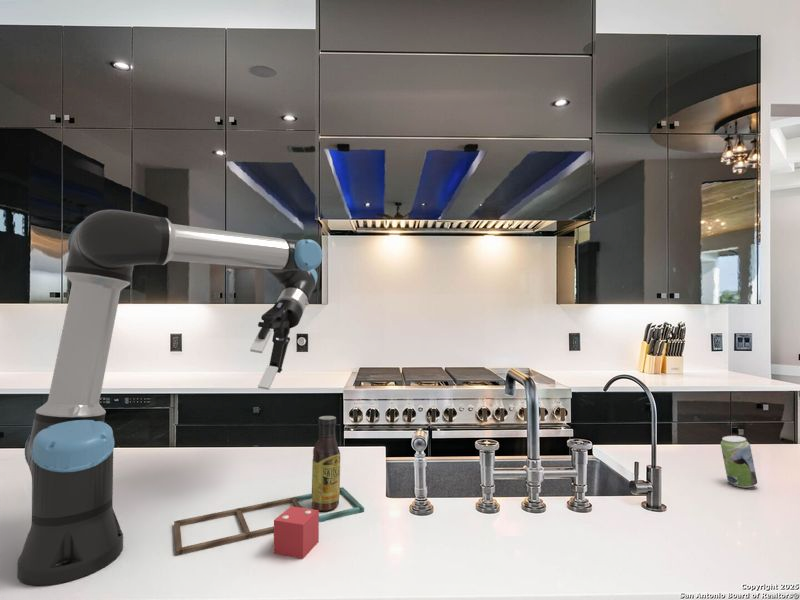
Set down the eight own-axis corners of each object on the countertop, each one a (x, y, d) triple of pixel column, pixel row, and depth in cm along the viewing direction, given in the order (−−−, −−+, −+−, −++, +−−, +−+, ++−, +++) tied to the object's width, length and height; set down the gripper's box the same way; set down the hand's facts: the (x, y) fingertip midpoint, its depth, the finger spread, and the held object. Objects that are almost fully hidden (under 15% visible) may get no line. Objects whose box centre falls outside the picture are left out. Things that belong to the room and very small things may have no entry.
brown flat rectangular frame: (176, 555, 80) (176, 551, 80) (174, 525, 92) (174, 521, 92) (364, 511, 98) (364, 507, 98) (342, 490, 109) (342, 487, 109)
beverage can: (763, 490, 109) (762, 441, 109) (733, 490, 109) (732, 440, 110) (744, 480, 115) (743, 433, 116) (715, 480, 116) (714, 433, 116)
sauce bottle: (324, 515, 96) (324, 422, 97) (305, 507, 100) (305, 418, 101) (346, 504, 101) (346, 416, 102) (327, 497, 105) (327, 413, 106)
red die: (273, 553, 81) (273, 519, 81) (290, 537, 87) (290, 505, 87) (303, 558, 79) (303, 523, 80) (318, 541, 85) (318, 509, 85)
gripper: (300, 274, 110) (269, 336, 95) (305, 342, 127) (280, 404, 112) (270, 270, 111) (235, 331, 95) (280, 337, 128) (251, 399, 112)
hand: (259, 370), depth 103 cm, fingers open, 13 cm apart
